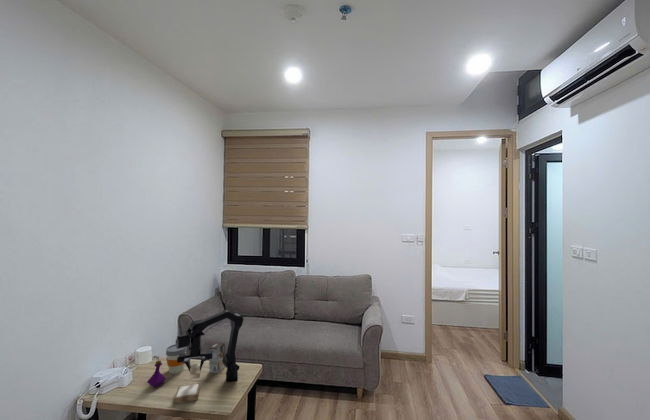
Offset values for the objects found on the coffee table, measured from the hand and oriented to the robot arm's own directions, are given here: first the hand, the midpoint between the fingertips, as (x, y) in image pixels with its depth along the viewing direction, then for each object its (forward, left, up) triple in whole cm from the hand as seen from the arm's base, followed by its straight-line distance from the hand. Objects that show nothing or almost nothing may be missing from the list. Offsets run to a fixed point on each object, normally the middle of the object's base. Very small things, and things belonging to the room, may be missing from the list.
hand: (195, 371), depth 176 cm
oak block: (0, 0, -3) cm, 3 cm away
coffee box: (-10, -25, -13) cm, 29 cm away
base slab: (+4, +1, -13) cm, 13 cm away
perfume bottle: (+24, -16, -13) cm, 31 cm away
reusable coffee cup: (+16, -32, -13) cm, 38 cm away
